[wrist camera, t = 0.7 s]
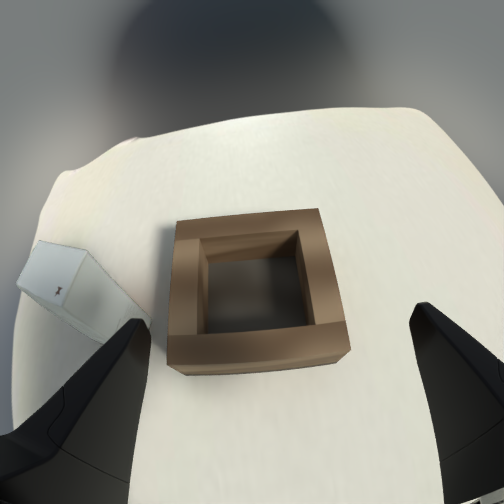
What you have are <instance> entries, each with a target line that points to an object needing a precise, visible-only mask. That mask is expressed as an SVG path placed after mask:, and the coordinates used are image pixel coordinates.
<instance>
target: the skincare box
mask: <svg viewBox="0 0 504 504" xmlns="http://www.w3.org/2000/svg"><path fill="white" fill-rule="evenodd" d="M16 285H17V286H18V288H20V289H21V290H22V291H23V292H25V293H26V294H27V295H28V296H30V297H31V298H32V299H34V300H35V301H36V302H37V303H39V304H40V305H41V306H43V307H44V308H46V309H47V310H48V311H50V312H51V313H53V314H54V315H55V316H57V317H58V318H60V319H61V320H63V321H64V322H66V323H67V324H69V325H70V326H72V327H73V328H75V329H76V330H78V331H80V332H81V333H83V334H84V335H86V336H87V337H89V338H91V339H92V340H94V341H97V342H99V343H101V344H105V343H106V342H107V341H108V340H109V339H110V338H111V337H112V336H113V335H114V334H115V333H116V332H117V331H118V330H119V329H120V328H121V327H122V326H123V325H124V324H125V323H126V322H127V321H128V320H129V319H131V318H142V319H143V320H144V321H145V323H146V326H147V328H148V330H149V327H150V324H151V321H152V319H151V318H150V317H149V316H148V315H147V314H146V313H145V312H144V311H143V310H142V309H141V308H140V307H139V306H138V305H137V304H136V303H135V302H134V301H133V300H132V299H131V298H130V297H129V296H128V295H127V294H126V293H125V292H124V291H123V290H122V289H121V288H120V286H119V285H118V284H117V283H116V282H115V281H114V280H113V279H112V278H111V277H110V276H109V275H108V274H107V273H106V271H105V270H104V269H103V268H102V267H101V266H100V265H99V264H98V262H97V261H96V260H95V259H94V258H93V257H92V256H91V254H90V253H89V252H88V251H87V250H83V249H78V248H74V247H69V246H64V245H59V244H54V243H49V242H45V241H41V240H39V241H38V243H37V245H36V246H35V248H34V250H33V252H32V254H31V256H30V257H29V259H28V261H27V263H26V265H25V267H24V269H23V271H22V273H21V275H20V277H19V279H18V281H17V283H16Z"/></svg>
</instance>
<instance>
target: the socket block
mask: <svg viewBox="0 0 504 504" xmlns="http://www.w3.org/2000/svg"><path fill="white" fill-rule="evenodd" d="M350 350H351V347H350V341H349V336H348V331H347V326H346V321H345V316H344V311H343V306H342V301H341V297H340V292H339V288H338V283H337V279H336V275H335V271H334V266H333V262H332V258H331V254H330V250H329V246H328V242H327V239H326V235H325V231H324V227H323V224H322V220H321V216H320V213H319V209H318V208H315V209H301V210H287V211H275V212H263V213H251V214H240V215H230V216H220V217H210V218H201V219H192V220H183V221H177V225H176V233H175V242H174V251H173V262H172V273H171V285H170V299H169V315H168V336H167V365H168V366H170V367H171V368H173V369H175V370H177V371H178V372H180V373H182V374H184V375H186V376H196V375H230V374H247V373H261V372H272V371H282V370H291V369H299V368H307V367H314V366H321V365H328V364H334V363H337V362H338V361H339V360H340V359H341V358H342V357H343V356H345V355H346V354H347V353H348V352H349V351H350Z"/></svg>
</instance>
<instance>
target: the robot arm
mask: <svg viewBox="0 0 504 504" xmlns="http://www.w3.org/2000/svg"><path fill="white" fill-rule="evenodd" d="M409 327H410V331H411V336H412V340H413V345H414V350H415V355H416V360H417V364H418V368H419V371H420V375H421V378H422V382H423V386H424V389H425V393H426V397H427V401H428V405H429V410H430V414H431V418H432V423H433V428H434V433H435V438H436V443H437V449H438V455H439V461H440V469H441V476H442V485H443V495H444V504H461V503H464V502H467V501H470V500H473V499H476V498H479V497H480V498H479V499H477V500H476V501H474V502H472V503H471V504H504V363H503V362H502V361H501V360H499V359H497V357H496V356H495V355H494V354H492V353H491V352H490V351H489V350H488V349H487V348H485V347H484V346H483V345H482V344H481V343H479V342H478V341H477V340H476V339H475V338H473V337H472V336H471V335H470V334H468V333H467V332H466V331H465V330H463V329H462V328H461V327H460V326H458V325H457V324H456V323H455V322H453V321H452V320H451V319H450V318H448V317H447V316H446V315H444V314H443V313H442V312H441V311H439V310H438V309H437V308H435V307H434V306H433V305H431V304H430V303H429V302H421V303H417V304H416V306H415V308H414V311H413V313H412V315H411V318H410V321H409ZM150 348H151V334H150V332H149V330H148V328H147V326H146V323H145V321H144V320H143V319H142V318H131V319H129V320H128V321H127V322H126V323H125V324H124V325H123V326H122V327H121V328H120V329H119V330H118V331H117V332H116V333H115V334H114V335H113V336H112V337H111V338H110V339H109V340H108V341H107V342H106V343H105V344H104V345H103V346H102V347H101V348H100V349H99V350H97V351H96V352H95V353H94V354H93V355H92V356H91V357H90V358H89V359H88V360H87V361H86V363H85V364H84V365H83V366H82V367H81V368H80V369H79V370H78V371H77V372H76V373H75V374H74V375H73V376H72V377H71V378H70V379H69V380H68V381H67V382H66V383H65V384H64V387H63V386H62V387H61V388H60V389H59V390H58V391H57V392H56V393H55V394H54V395H53V396H52V397H51V398H50V399H49V400H48V401H47V402H46V403H45V404H44V405H43V406H42V407H41V408H40V409H38V410H37V411H36V412H35V413H34V414H33V415H32V416H31V417H29V418H28V419H27V420H26V421H25V422H24V423H23V424H21V425H20V426H19V427H18V428H17V429H15V430H14V431H12V432H11V433H9V434H6V435H2V436H0V504H128V495H129V486H130V484H129V483H130V477H131V469H132V462H133V455H134V448H135V442H136V436H137V430H138V424H139V419H140V413H141V408H142V403H143V398H144V393H145V388H146V383H147V376H148V366H149V356H150Z"/></svg>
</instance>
